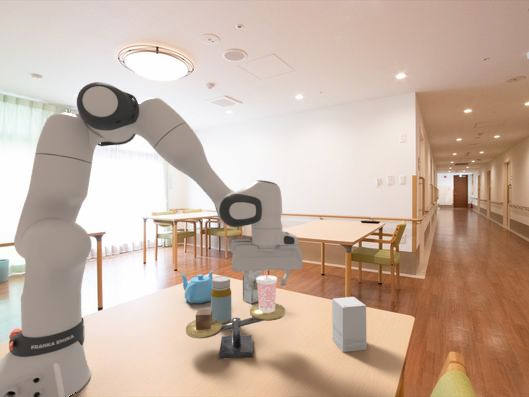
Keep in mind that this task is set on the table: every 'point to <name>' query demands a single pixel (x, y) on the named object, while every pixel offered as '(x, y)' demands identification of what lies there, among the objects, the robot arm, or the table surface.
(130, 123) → the robot arm
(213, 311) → the bottle
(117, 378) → the table surface
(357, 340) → the supplement box
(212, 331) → the balance
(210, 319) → the walnut block
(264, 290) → the beverage cup
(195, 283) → the teapot
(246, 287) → the syrup box
